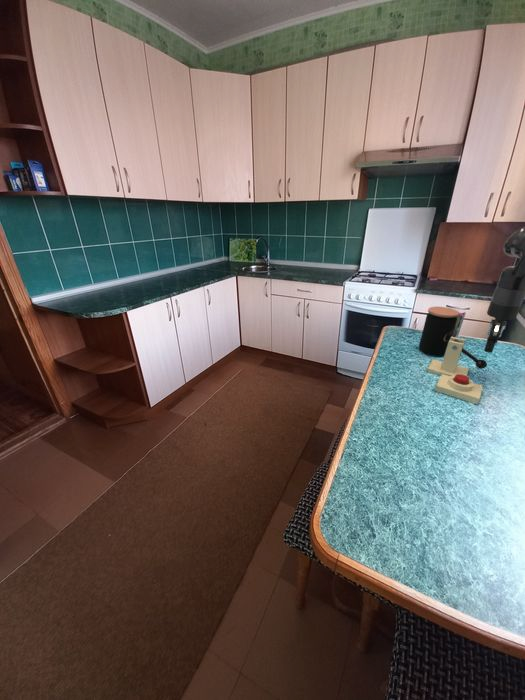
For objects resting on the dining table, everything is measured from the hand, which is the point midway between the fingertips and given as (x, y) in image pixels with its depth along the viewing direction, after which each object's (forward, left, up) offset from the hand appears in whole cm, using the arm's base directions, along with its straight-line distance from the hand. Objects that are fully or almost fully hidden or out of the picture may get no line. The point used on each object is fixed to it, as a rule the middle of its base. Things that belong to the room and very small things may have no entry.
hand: (487, 351), depth 97 cm
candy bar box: (+16, -22, -12) cm, 30 cm away
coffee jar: (+17, -15, -12) cm, 25 cm away
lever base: (+9, 0, -11) cm, 15 cm away
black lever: (+6, 0, -4) cm, 7 cm away
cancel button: (+4, +12, -8) cm, 15 cm away
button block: (+4, +12, -11) cm, 17 cm away
